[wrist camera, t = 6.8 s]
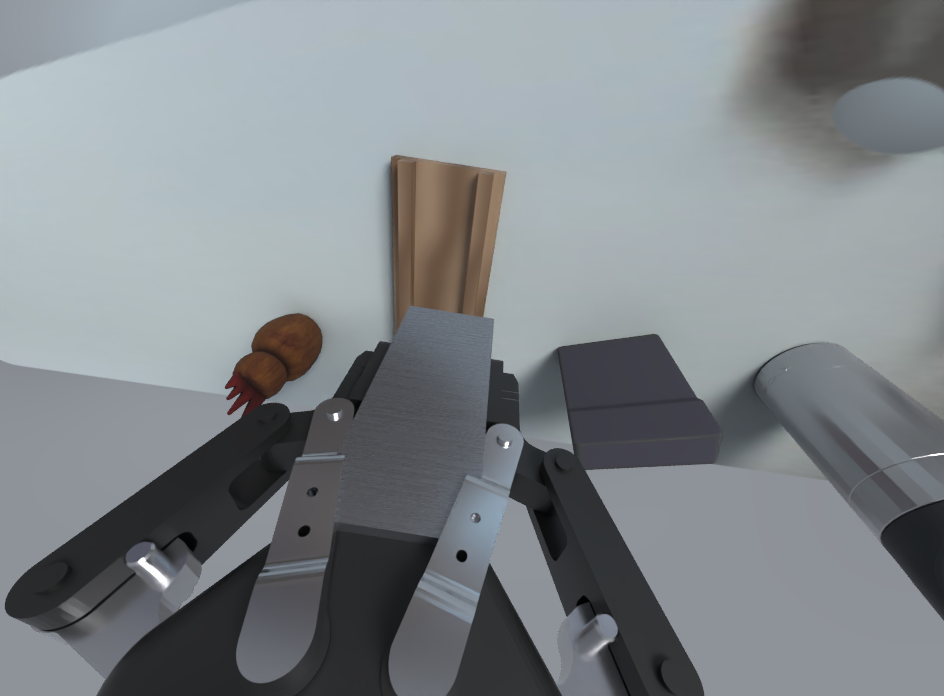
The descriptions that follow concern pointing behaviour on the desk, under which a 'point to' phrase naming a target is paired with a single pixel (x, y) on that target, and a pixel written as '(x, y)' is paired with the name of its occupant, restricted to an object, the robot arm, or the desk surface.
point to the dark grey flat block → (634, 406)
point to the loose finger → (418, 428)
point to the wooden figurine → (275, 360)
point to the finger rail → (443, 234)
